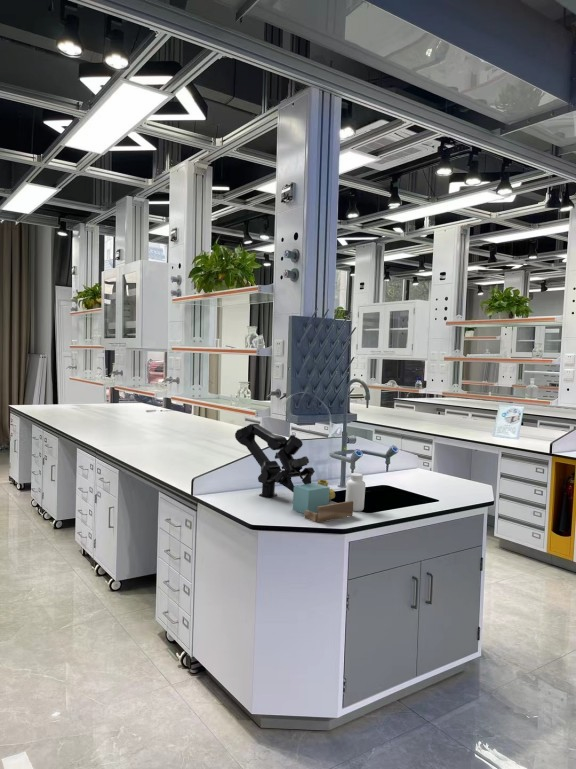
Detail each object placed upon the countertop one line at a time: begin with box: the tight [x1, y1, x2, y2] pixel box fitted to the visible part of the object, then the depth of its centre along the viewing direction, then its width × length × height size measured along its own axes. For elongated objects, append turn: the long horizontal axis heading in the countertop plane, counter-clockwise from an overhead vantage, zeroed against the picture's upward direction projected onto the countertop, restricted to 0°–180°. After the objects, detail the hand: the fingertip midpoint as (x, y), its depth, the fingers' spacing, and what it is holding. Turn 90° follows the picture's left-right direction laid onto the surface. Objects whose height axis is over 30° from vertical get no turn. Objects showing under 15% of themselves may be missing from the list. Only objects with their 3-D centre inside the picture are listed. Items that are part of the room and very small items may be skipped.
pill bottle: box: [344, 472, 366, 512], centre depth 242 cm, size 8×8×15 cm
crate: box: [292, 482, 331, 515], centre depth 235 cm, size 9×12×10 cm
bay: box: [303, 501, 354, 524], centre depth 227 cm, size 8×20×6 cm, turn 131°
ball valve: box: [317, 479, 336, 502], centre depth 253 cm, size 13×10×10 cm
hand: (303, 491), depth 239 cm, fingers open, 9 cm apart
